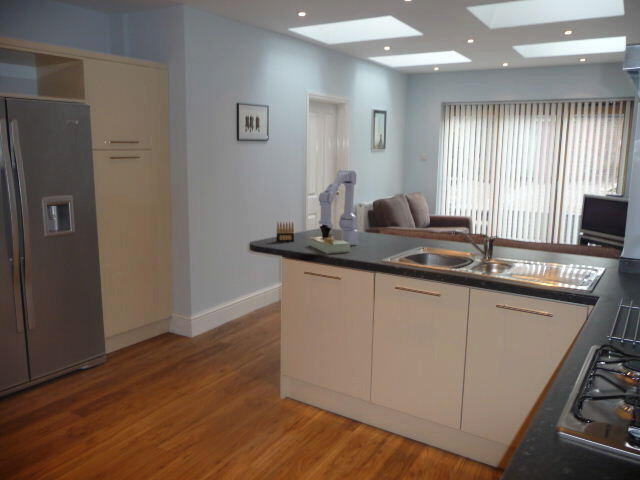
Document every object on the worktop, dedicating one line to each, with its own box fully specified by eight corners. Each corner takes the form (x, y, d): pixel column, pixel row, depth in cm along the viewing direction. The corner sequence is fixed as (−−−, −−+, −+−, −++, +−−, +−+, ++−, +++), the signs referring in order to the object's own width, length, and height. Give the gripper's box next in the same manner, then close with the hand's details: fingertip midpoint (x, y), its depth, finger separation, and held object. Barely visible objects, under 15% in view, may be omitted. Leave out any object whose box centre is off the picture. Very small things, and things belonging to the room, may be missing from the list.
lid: (331, 237, 307) (332, 230, 307) (344, 242, 293) (344, 234, 292) (309, 239, 302) (310, 231, 301) (321, 244, 287) (321, 235, 286)
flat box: (331, 244, 308) (331, 236, 307) (349, 252, 287) (350, 243, 286) (309, 245, 303) (309, 237, 302) (326, 253, 281) (326, 244, 280)
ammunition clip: (276, 242, 313) (276, 222, 310) (276, 241, 314) (276, 221, 312) (294, 241, 315) (294, 221, 313) (293, 241, 317) (293, 221, 314)
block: (328, 242, 285) (328, 237, 285) (333, 244, 280) (333, 239, 279) (323, 243, 284) (323, 237, 284) (328, 245, 279) (328, 239, 278)
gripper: (313, 212, 288) (313, 237, 290) (324, 216, 275) (324, 241, 277) (325, 212, 291) (325, 236, 293) (336, 215, 278) (336, 241, 280)
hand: (325, 239), depth 285 cm, fingers closed
